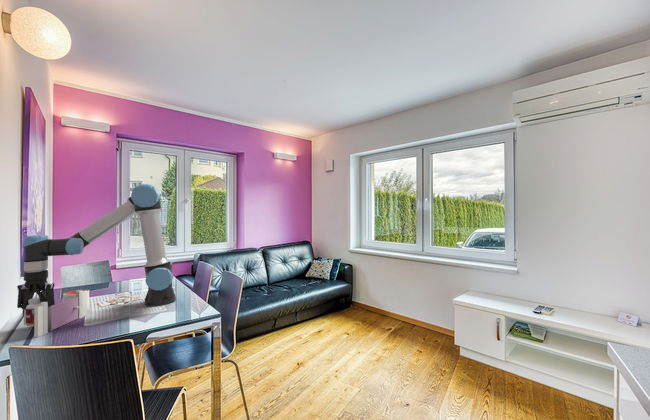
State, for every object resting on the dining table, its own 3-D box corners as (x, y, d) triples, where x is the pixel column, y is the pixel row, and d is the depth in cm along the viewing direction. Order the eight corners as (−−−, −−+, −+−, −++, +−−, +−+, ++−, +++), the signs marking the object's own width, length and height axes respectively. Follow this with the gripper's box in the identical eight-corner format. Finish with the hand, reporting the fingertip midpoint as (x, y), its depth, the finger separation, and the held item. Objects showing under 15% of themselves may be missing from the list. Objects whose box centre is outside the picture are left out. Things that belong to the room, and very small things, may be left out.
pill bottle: (25, 324, 124) (25, 299, 124) (45, 320, 128) (45, 295, 128) (26, 327, 120) (26, 301, 120) (47, 323, 124) (46, 298, 124)
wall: (87, 315, 139) (87, 288, 139) (38, 337, 114) (38, 304, 114) (84, 315, 139) (84, 288, 139) (33, 337, 114) (33, 304, 114)
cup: (73, 315, 138) (73, 295, 138) (57, 314, 140) (57, 294, 140) (94, 309, 148) (94, 289, 148) (78, 308, 150) (78, 289, 150)
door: (81, 318, 133) (81, 297, 134) (52, 331, 119) (52, 307, 119) (75, 318, 133) (75, 297, 133) (45, 331, 118) (45, 307, 119)
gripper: (66, 268, 128) (66, 319, 128) (22, 269, 128) (22, 320, 127) (50, 271, 121) (50, 326, 121) (4, 272, 120) (3, 327, 120)
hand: (36, 323), depth 124 cm, fingers closed on pill bottle, 6 cm apart
